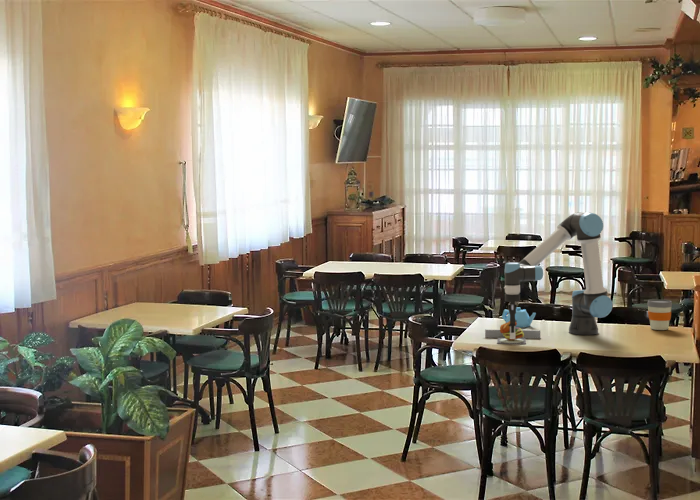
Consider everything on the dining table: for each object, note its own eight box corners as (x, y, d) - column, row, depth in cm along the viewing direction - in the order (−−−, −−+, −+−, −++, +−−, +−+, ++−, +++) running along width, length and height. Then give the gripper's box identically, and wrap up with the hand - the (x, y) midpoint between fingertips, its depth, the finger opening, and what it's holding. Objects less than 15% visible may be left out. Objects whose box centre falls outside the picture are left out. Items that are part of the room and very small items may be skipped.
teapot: (526, 323, 472) (526, 305, 472) (536, 328, 458) (536, 308, 457) (500, 325, 470) (500, 306, 469) (510, 329, 455) (510, 309, 454)
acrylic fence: (540, 338, 427) (540, 330, 427) (540, 338, 426) (540, 330, 425) (485, 337, 432) (485, 329, 432) (485, 337, 431) (485, 329, 431)
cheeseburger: (525, 339, 412) (517, 321, 411) (504, 346, 415) (497, 328, 414) (524, 333, 422) (517, 315, 421) (505, 340, 425) (497, 322, 424)
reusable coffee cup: (646, 329, 446) (646, 302, 444) (647, 326, 457) (647, 299, 456) (671, 330, 441) (671, 302, 440) (672, 327, 452) (672, 299, 451)
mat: (525, 339, 424) (525, 338, 424) (525, 344, 410) (525, 343, 410) (497, 338, 427) (497, 337, 427) (497, 343, 413) (497, 342, 413)
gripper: (505, 290, 428) (505, 333, 430) (504, 296, 406) (504, 341, 408) (519, 290, 427) (520, 333, 429) (520, 296, 405) (520, 341, 406)
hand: (512, 337), depth 418 cm, fingers closed on cheeseburger, 10 cm apart
